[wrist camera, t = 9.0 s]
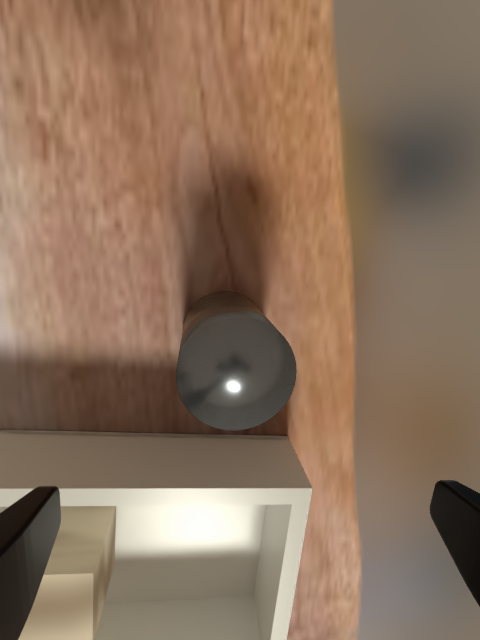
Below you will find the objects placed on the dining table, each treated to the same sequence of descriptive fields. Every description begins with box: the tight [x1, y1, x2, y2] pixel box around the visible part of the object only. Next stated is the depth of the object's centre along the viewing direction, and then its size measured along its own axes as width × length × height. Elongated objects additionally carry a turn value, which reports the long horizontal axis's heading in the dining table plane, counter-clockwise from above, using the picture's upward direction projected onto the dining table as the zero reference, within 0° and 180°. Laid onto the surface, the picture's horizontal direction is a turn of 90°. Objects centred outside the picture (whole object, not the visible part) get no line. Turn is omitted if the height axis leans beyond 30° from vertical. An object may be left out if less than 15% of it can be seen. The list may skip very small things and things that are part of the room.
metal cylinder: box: [176, 291, 296, 430], centre depth 17 cm, size 5×5×7 cm
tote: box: [0, 430, 312, 640], centre depth 21 cm, size 18×14×5 cm
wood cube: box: [18, 506, 116, 640], centre depth 19 cm, size 5×5×5 cm
